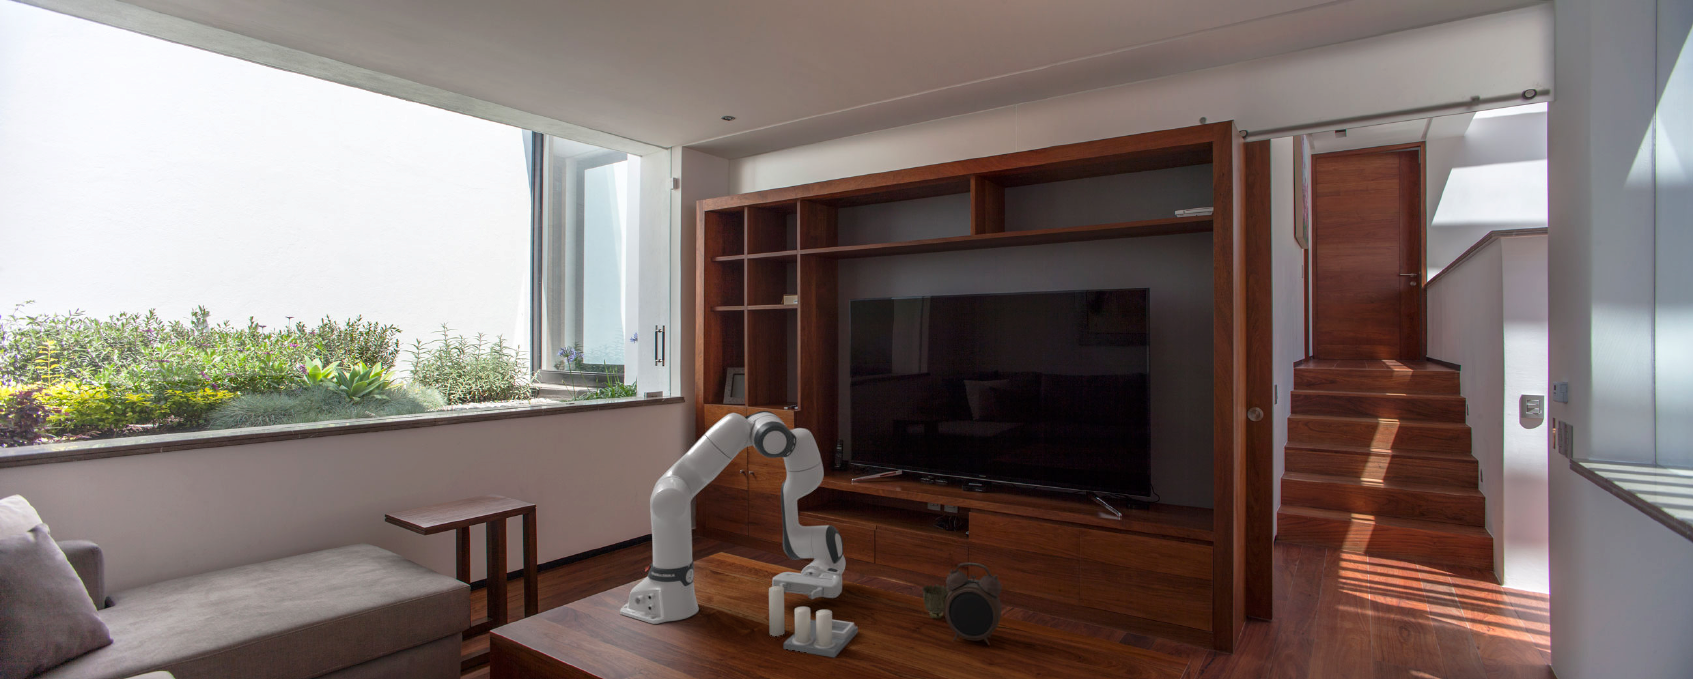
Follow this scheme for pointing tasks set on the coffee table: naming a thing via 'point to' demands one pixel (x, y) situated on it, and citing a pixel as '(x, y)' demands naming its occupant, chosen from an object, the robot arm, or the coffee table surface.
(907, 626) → the coffee table surface
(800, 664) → the coffee table surface
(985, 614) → the alarm clock
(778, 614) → the ivory pin
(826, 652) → the pin board
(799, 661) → the coffee table surface
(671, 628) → the coffee table surface
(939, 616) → the cup
